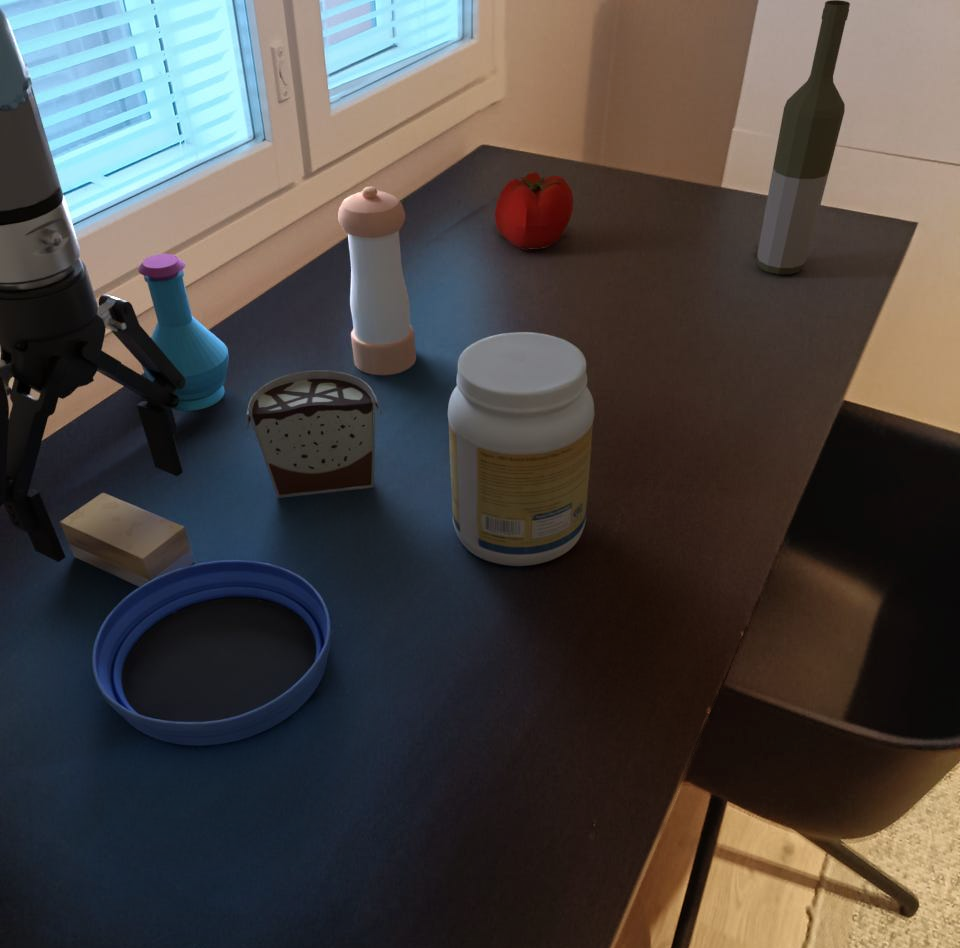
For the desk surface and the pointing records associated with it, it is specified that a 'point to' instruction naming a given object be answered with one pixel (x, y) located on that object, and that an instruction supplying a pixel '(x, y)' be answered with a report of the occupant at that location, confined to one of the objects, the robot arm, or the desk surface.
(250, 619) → the blue ring
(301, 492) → the food container
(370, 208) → the pepper shaker
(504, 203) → the tomato
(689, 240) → the desk surface
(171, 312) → the perfume bottle
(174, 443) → the robot arm
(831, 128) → the bottle
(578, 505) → the supplement tub
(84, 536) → the eraser
